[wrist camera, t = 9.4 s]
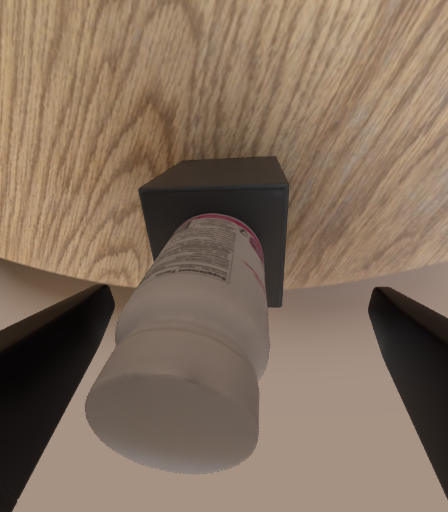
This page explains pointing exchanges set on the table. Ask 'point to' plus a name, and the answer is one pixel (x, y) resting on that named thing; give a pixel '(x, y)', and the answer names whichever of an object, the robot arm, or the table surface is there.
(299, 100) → the table surface
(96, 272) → the table surface
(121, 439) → the pill bottle
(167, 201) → the block
